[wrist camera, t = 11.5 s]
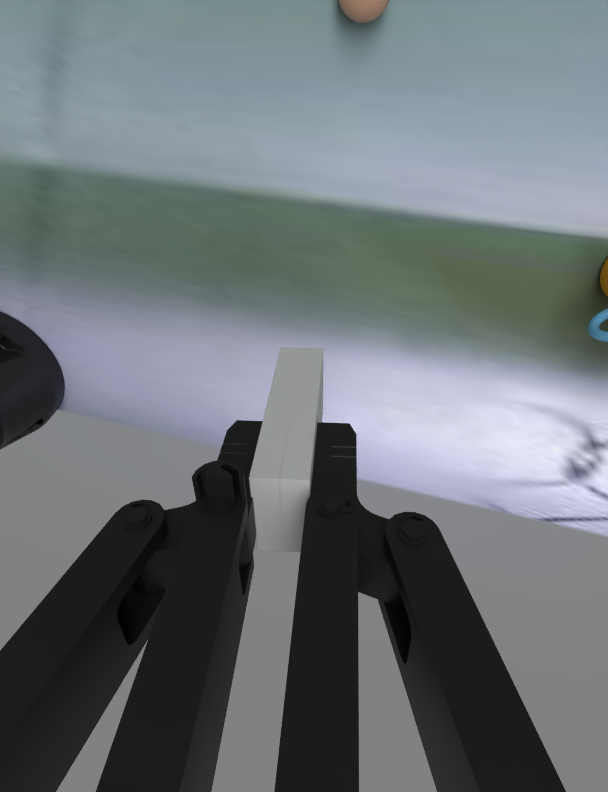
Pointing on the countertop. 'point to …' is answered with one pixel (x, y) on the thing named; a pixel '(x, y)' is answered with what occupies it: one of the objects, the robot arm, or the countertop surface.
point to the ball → (363, 9)
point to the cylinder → (593, 327)
